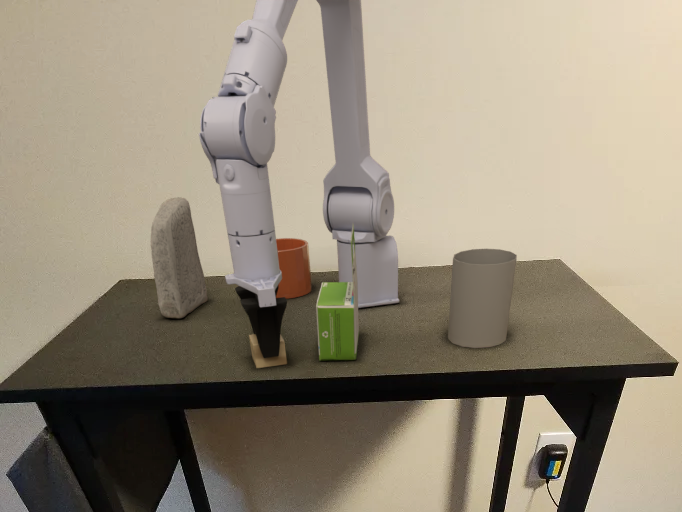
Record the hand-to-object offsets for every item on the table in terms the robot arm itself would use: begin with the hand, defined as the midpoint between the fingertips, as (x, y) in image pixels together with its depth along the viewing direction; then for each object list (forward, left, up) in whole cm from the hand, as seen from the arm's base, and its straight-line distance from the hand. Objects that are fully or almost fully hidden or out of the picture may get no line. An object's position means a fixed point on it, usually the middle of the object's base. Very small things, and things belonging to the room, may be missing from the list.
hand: (268, 350), depth 80 cm
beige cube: (0, 0, -1) cm, 1 cm away
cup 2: (-30, +2, -2) cm, 30 cm away
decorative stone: (+10, -28, -2) cm, 30 cm away
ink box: (-10, -1, -2) cm, 11 cm away
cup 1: (-8, -32, -1) cm, 33 cm away
